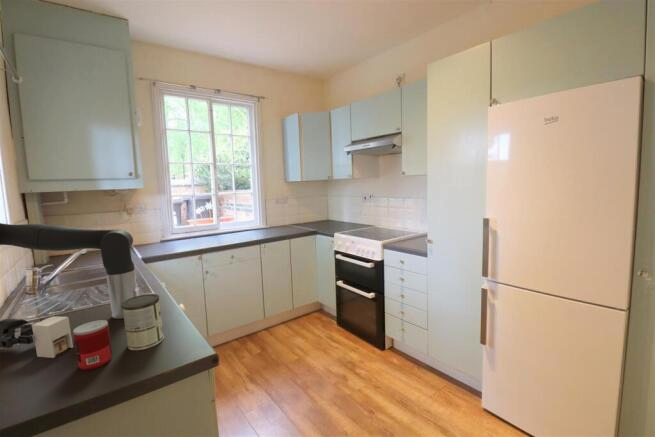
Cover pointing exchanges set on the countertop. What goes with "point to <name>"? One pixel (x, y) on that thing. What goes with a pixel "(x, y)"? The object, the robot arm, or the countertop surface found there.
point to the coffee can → (142, 321)
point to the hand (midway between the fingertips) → (47, 332)
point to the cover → (51, 335)
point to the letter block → (59, 345)
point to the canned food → (92, 344)
